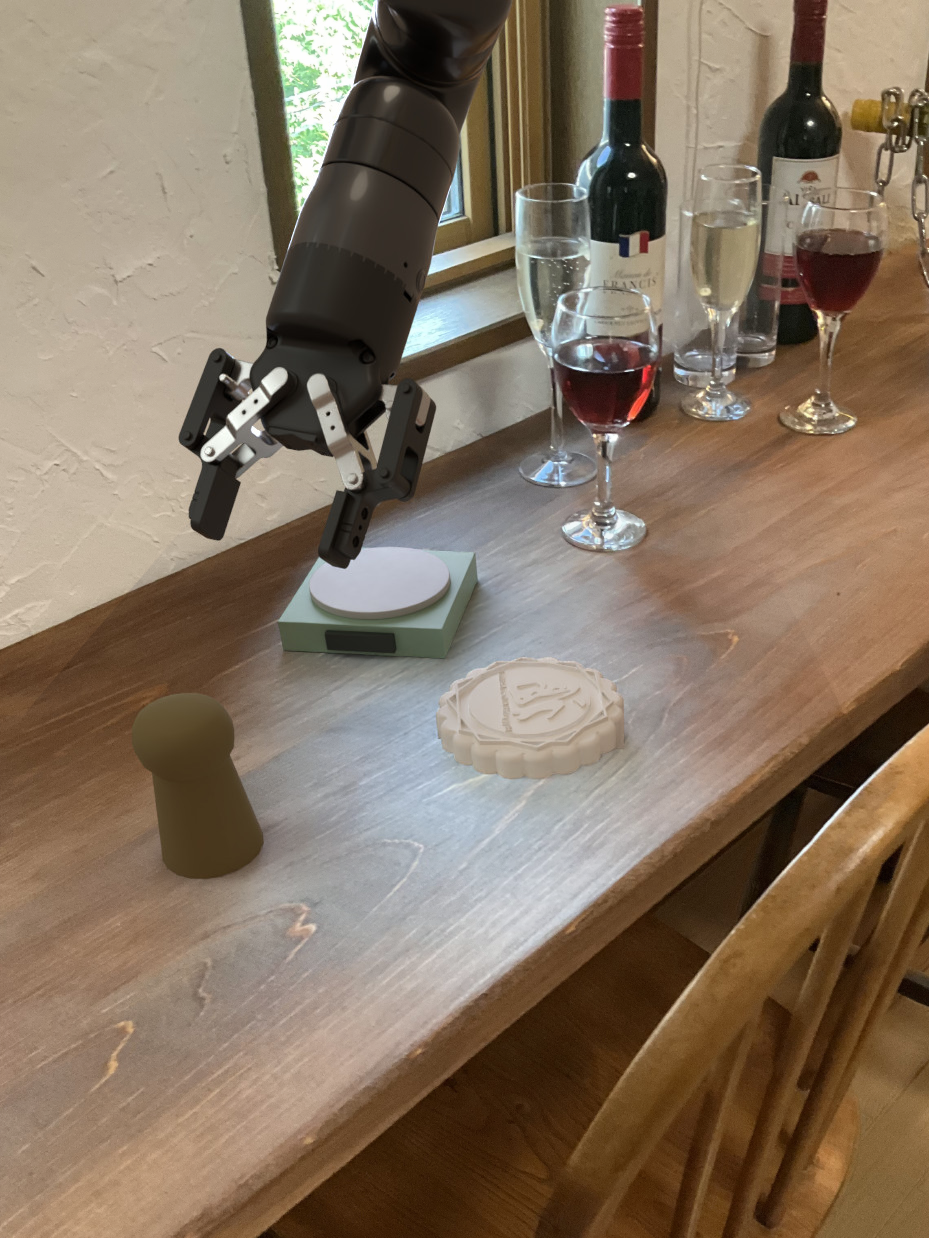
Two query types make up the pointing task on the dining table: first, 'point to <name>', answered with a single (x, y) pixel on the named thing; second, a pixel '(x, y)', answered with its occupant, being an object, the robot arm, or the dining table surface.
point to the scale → (382, 604)
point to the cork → (196, 786)
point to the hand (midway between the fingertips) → (267, 549)
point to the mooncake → (531, 718)
